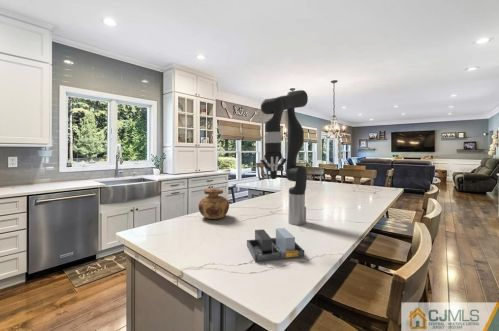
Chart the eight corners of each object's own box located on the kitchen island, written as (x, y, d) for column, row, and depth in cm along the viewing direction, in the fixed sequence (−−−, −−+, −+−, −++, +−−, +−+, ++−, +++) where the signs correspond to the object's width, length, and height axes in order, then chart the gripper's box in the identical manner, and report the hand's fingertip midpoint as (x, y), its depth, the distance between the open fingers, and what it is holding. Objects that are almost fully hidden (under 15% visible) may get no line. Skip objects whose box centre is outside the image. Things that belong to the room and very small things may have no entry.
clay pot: (236, 215, 148) (223, 185, 145) (207, 229, 144) (193, 199, 140) (229, 207, 167) (217, 181, 163) (203, 219, 162) (191, 193, 158)
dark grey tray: (289, 242, 113) (289, 226, 112) (304, 257, 97) (304, 238, 96) (246, 245, 109) (246, 229, 108) (255, 262, 93) (255, 243, 92)
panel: (284, 243, 110) (284, 227, 110) (294, 254, 99) (294, 237, 98) (275, 243, 109) (275, 228, 109) (285, 255, 98) (285, 238, 97)
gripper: (283, 141, 119) (283, 177, 121) (257, 142, 116) (257, 178, 118) (289, 141, 112) (289, 179, 114) (261, 142, 109) (262, 180, 111)
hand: (273, 178), depth 116 cm, fingers closed
